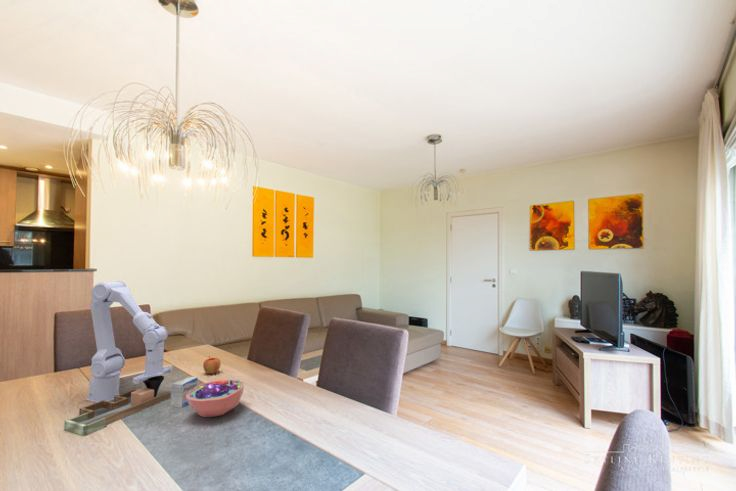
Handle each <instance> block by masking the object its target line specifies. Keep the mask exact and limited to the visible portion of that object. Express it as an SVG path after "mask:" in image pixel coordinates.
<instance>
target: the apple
mask: <svg viewBox="0 0 736 491" xmlns="http://www.w3.org/2000/svg"><path fill="white" fill-rule="evenodd" d="M202 367H203V370H204V371H205V373H206V374H208V375H210V374H211V375H214V374H215V373H217V372H218V371H219V370H220V368H221V360H220V359H219V358H217V357H210V355H209V356H208V359H205V361H203V366H202Z"/></svg>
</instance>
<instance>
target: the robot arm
mask: <svg viewBox="0 0 736 491" xmlns="http://www.w3.org/2000/svg"><path fill="white" fill-rule="evenodd" d="M130 291H131V290H130V288H129V287H128V285H127V284H126V283H125V282H124V281H120V280H117V281H108V282H107V281H106V282H104V281H103V282H99V283H98V282H97V284H95V285H94V286H93V288H92V289H91V290H90V293H91V294H90V295H91V301H90V311H91V318H92V325H93V332H94V338H95V344H96V345H95V346H96V353H95V354H94V355H93V356H92V358H91V366H90V373H91V375H92V377H91V378H90V380H89V384H88V397H87V398H85V401H88V402H89V401H90V402H94V403H97V402H100V401H102V400H107V401H111V402H112V401H114V396H116V395H119V394H120V393H119V391H120V376H121V375H120V374H121V372H122V369H123V368H124V367H125V365H126V359H125V357H124V356H123V354H122V350H121V349H119V347H116V343H115V335H114V330H113V329H114V328H113V322H112V316H111V311H110V307H111V306H112V305H113V304H114V303H119V304H120V305H121V306H122V307H123V308H124V310H126V311H127V312H128V313H129V314H130V315H131V316H132V317H133V318H132V323H133V325H134V326H135V327H136V328H137V329H138V331H139V332H140V333H141V334H142V342H143V343H144V345H145V360H144V361H145V362H144V364H145V365H144V372H143V373H141V374H139V375H137V376H135V377H132V384H133V385H134V384H135V385H138V384H140V383H143V384H144V385H145V388H148V389H153V390H154V397H156V395H158V392H159V389H160V386H161V384H162V383H163V381H164V380H165V376H164V374H168V373H173V370H174V369H173V368H174V367H173V366H170V365H169V366H165V367H164V353H165V351H164V350H165V341H166V340H167V338H168V336H169V331H168V330H167V327H165V326H162V325H160V324H158V323H157V322H156V320H155V319H154V318H153V315H152V314H151V313H149V312H148V311H147V312H146V311H143V310H142V308H141V307H140V306H139V305H138V303H137V301H136V300H135V298H134V297H133V296H132V294H131V292H130Z"/></svg>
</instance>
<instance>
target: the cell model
mask: <svg viewBox="0 0 736 491" xmlns="http://www.w3.org/2000/svg"><path fill="white" fill-rule="evenodd" d="M244 387H245V383H244V382H243V381H241V380H238V379H227V380H212V381H210V382H204V383H201V384H199V385H197V387H196V388H195V389H193V390H191V391H190V392H188V393H187V395H186V398H187V400H188V403H189V404H188V405H189V406H190V407H191V408H192V409H193V410H194V412H195V413H196V414H198V415H199V416H200V417H203V418H211V417H212V418H213V417H215V418H216V417H220V416H223V415H225V414H226V413H228V412H230V411H231V410H233V409H234V408H235V407H237V406H238V405H239V403H240V401H241V399H242V396H243V393H244Z"/></svg>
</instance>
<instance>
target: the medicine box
mask: <svg viewBox="0 0 736 491" xmlns="http://www.w3.org/2000/svg"><path fill="white" fill-rule="evenodd" d="M198 381H199V380H198V377H197V376H186V377H184V378H183V379H182V378H181V379H180V380H178V381H176V382H174V383H172V386H171V389H172V390H171V407H172V408H173V407H175V408H184V407H185V406H187V405H190V404H189V403H188V400H187V398H186V395H187V393H188V392H190V391H191V390H193V389H195V388H196V387H197V386H198Z"/></svg>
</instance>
